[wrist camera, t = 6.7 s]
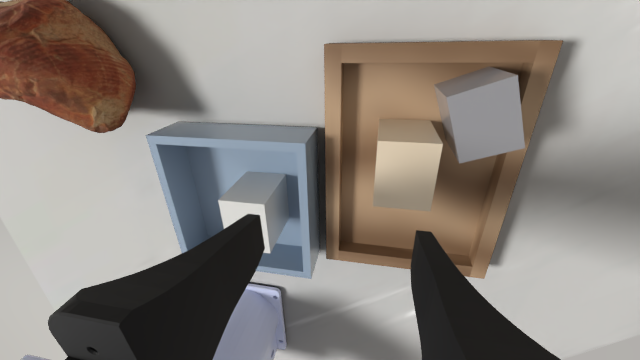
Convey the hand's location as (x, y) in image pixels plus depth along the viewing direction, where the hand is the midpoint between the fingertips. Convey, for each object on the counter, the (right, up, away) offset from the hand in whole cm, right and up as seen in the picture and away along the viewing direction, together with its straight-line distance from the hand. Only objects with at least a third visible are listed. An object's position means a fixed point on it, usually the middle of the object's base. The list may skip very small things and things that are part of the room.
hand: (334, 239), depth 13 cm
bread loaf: (-19, +12, +9) cm, 24 cm away
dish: (-6, +2, +11) cm, 13 cm away
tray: (+6, +4, +7) cm, 10 cm away
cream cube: (+5, +5, +6) cm, 9 cm away
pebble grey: (-5, +2, +10) cm, 11 cm away
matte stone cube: (+8, +7, +4) cm, 12 cm away
